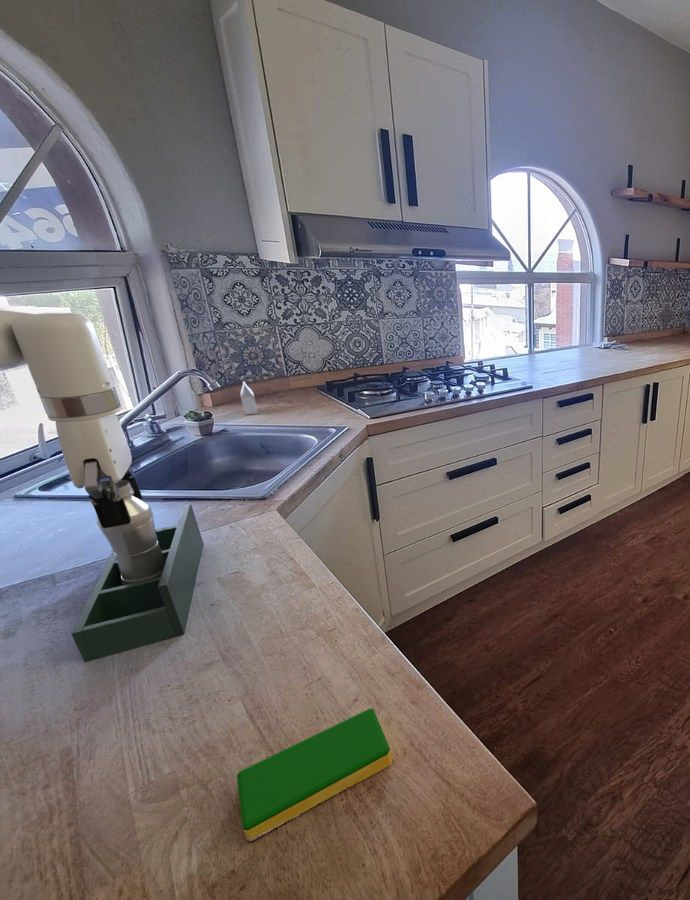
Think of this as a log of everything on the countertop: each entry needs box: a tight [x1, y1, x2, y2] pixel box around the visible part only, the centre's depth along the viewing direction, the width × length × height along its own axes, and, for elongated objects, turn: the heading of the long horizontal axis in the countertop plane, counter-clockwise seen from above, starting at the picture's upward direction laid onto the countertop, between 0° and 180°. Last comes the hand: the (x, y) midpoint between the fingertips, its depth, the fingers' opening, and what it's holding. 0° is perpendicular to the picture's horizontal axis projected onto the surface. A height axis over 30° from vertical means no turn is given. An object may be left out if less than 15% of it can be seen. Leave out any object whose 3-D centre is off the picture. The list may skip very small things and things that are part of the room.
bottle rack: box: [71, 502, 204, 663], centre depth 81 cm, size 11×28×9 cm, turn 31°
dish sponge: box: [236, 708, 393, 839], centre depth 55 cm, size 7×14×2 cm, turn 128°
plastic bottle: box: [96, 480, 166, 586], centre depth 79 cm, size 6×7×20 cm
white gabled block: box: [239, 380, 259, 416], centre depth 169 cm, size 4×7×10 cm, turn 35°
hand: (123, 512), depth 77 cm, fingers open, 7 cm apart
